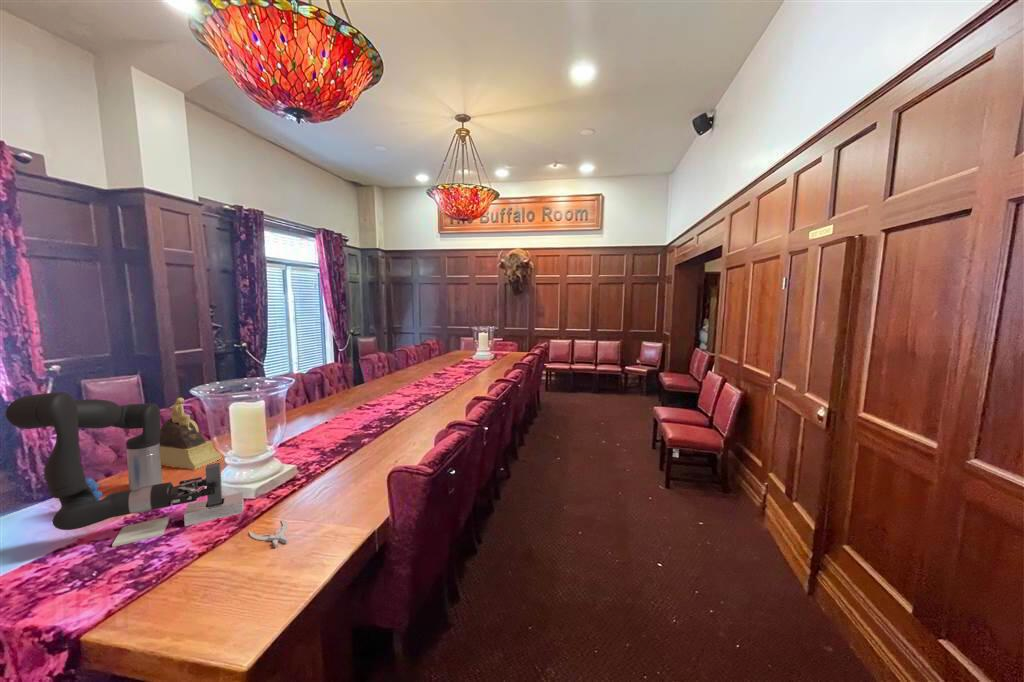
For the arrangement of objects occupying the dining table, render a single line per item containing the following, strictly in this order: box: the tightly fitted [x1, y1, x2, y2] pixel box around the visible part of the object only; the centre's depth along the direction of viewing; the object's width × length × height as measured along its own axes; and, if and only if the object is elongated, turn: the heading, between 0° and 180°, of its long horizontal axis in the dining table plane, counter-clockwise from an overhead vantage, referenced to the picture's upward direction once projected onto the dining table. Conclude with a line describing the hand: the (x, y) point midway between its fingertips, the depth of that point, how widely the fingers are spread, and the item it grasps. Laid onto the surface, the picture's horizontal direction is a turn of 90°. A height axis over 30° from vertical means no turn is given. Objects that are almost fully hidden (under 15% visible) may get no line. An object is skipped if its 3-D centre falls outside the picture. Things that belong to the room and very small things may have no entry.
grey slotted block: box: [183, 492, 245, 527], centre depth 130 cm, size 8×15×4 cm, turn 123°
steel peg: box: [205, 462, 223, 507], centre depth 129 cm, size 4×4×17 cm
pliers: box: [248, 519, 289, 549], centre depth 118 cm, size 10×2×15 cm
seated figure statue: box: [160, 397, 224, 471], centre depth 173 cm, size 28×13×30 cm, turn 77°
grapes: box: [85, 477, 104, 501], centre depth 129 cm, size 12×7×12 cm, turn 65°
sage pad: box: [111, 516, 170, 548], centre depth 119 cm, size 11×11×1 cm
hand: (216, 485), depth 129 cm, fingers open, 8 cm apart
